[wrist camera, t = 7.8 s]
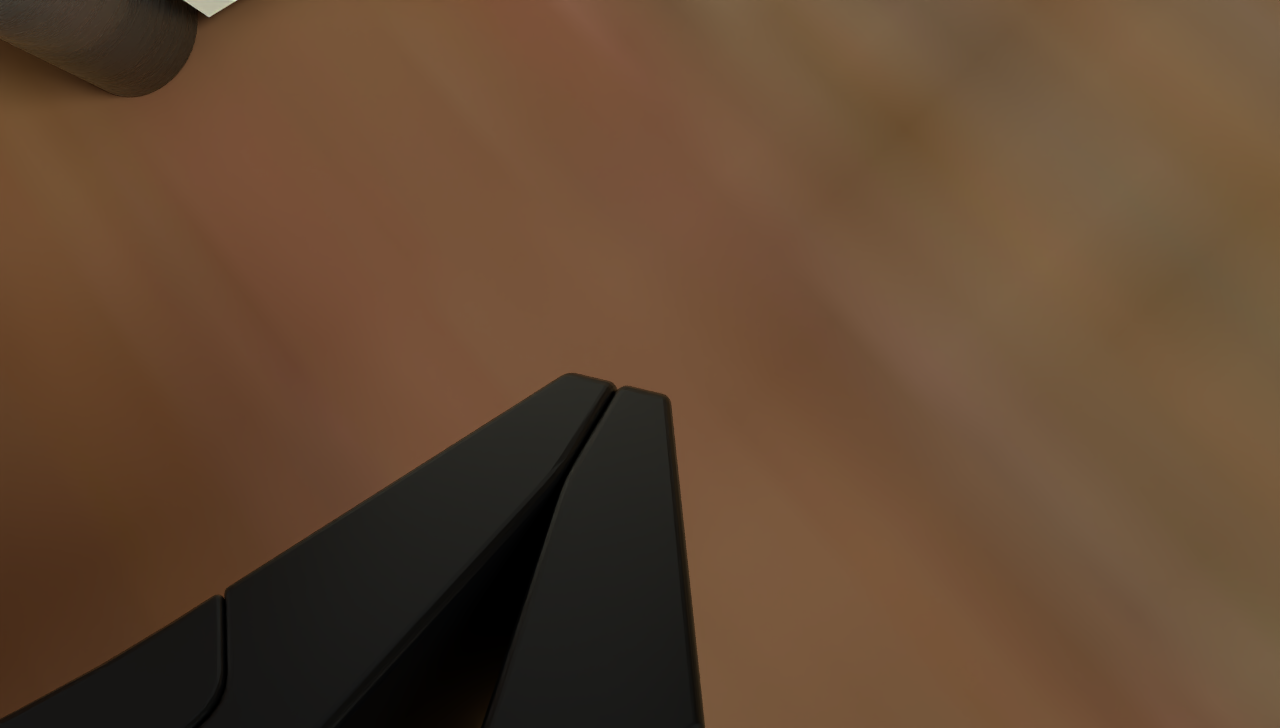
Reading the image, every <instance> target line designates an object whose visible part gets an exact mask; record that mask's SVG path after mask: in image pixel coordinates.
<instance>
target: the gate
mask: <svg viewBox="0 0 1280 728" xmlns="http://www.w3.org/2000/svg"><path fill="white" fill-rule="evenodd" d="M184 1H185V2H187V3H188V4H190V5H191V6H193V7H194V8H196V9H197V10H199V11H200V12H202V13H203V14H205V15H206V16H208V17H210V16H212V15H214V14H215V13H217V12H219V11H220V10H222V9H224V8H225V7H227V6H228V5H230V4H232V3H233V2H235V1H237V0H184Z"/></svg>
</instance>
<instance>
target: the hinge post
mask: <svg viewBox="0 0 1280 728" xmlns="http://www.w3.org/2000/svg"><path fill="white" fill-rule="evenodd" d="M196 31H197V14H196V8H194V7H193V6H191V5H190V4H188V3H187V2H185V1H184V0H0V39H1V40H3V41H5V42H7V43H9V44H11V45H13V46H15V47H17V48H19V49H21V50H23V51H25V52H27V53H30V54H32V55H34V56H36V57H38V58H40V59H42V60H44V61H46V62H48V63H50V64H52V65H54V66H56V67H58V68H60V69H62V70H64V71H66V72H68V73H70V74H72V75H75V76H77V77H79V78H81V79H83V80H85V81H87V82H89V83H91V84H93V85H95V86H97V87H99V88H101V89H103V90H105V91H107V92H109V93H111V94H115V95H118V96H125V97H135V96H141V95H145V94H148V93H151V92H153V91H155V90H157V89H159V88H161V87H162V86H164V85H165V84H167V83H168V82H169V81H170V80H172V79H173V78H174V77H175V76H176V75H177V73H178V72H179V71H180V70H181V68H182V67H183V66H184V64H185V62H186V61H187V59H188V57H189V55H190V53H191V51H192V48H193V45H194V42H195V37H196Z"/></svg>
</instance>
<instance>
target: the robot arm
mask: <svg viewBox="0 0 1280 728" xmlns="http://www.w3.org/2000/svg"><path fill="white" fill-rule="evenodd" d="M0 728H705V723H704V713H703V703H702V694H701V684H700V675H699V665H698V656H697V646H696V637H695V627H694V618H693V608H692V599H691V589H690V580H689V570H688V560H687V551H686V541H685V532H684V522H683V513H682V503H681V494H680V484H679V475H678V465H677V456H676V446H675V437H674V427H673V417H672V408H671V401H670V399H669V398H668V397H667V396H666V395H664V394H661V393H657V392H653V391H648V390H644V389H640V388H636V387H632V386H623V387H621V388H619V389H618V390H617V387H616V386H615V385H614V384H613V383H612V382H610V381H606V380H602V379H598V378H594V377H590V376H585V375H581V374H577V373H568V374H564V375H562V376H560V377H559V378H557V379H556V380H554V381H552V382H551V383H549V384H548V385H546V386H545V387H543V388H541V389H540V390H538V391H537V392H535V393H534V394H532V395H530V396H529V397H527V398H526V399H524V400H522V401H521V402H519V403H518V404H516V405H515V406H513V407H511V408H510V409H508V410H507V411H505V412H504V413H502V414H500V415H499V416H497V417H496V418H494V419H492V420H491V421H489V422H488V423H486V424H485V425H483V426H481V427H480V428H478V429H477V430H475V431H474V432H472V433H470V434H469V435H467V436H466V437H464V438H463V439H461V440H459V441H458V442H456V443H455V444H453V445H451V446H450V447H448V448H447V449H445V450H444V451H442V452H440V453H439V454H437V455H436V456H434V457H433V458H431V459H429V460H428V461H426V462H425V463H423V464H421V465H420V466H418V467H417V468H415V469H414V470H412V471H410V472H409V473H407V474H406V475H404V476H403V477H401V478H399V479H398V480H396V481H395V482H393V483H392V484H390V485H388V486H387V487H385V488H384V489H382V490H380V491H379V492H377V493H376V494H374V495H373V496H371V497H369V498H368V499H366V500H365V501H363V502H362V503H360V504H358V505H357V506H355V507H354V508H352V509H351V510H349V511H347V512H346V513H344V514H343V515H341V516H339V517H338V518H336V519H335V520H333V521H332V522H330V523H328V524H327V525H325V526H324V527H322V528H321V529H319V530H317V531H316V532H314V533H313V534H311V535H309V536H308V537H306V538H305V539H303V540H302V541H300V542H298V543H297V544H295V545H294V546H292V547H291V548H289V549H287V550H286V551H284V552H283V553H281V554H280V555H278V556H276V557H275V558H273V559H272V560H270V561H268V562H267V563H265V564H264V565H262V566H261V567H259V568H257V569H256V570H254V571H253V572H251V573H250V574H248V575H246V576H245V577H243V578H242V579H240V580H238V581H237V582H235V583H234V584H232V585H231V586H229V587H228V588H226V590H225V593H224V598H223V597H222V596H221V595H214V596H213V597H211V598H209V599H208V600H206V601H205V602H203V603H201V604H200V605H198V606H197V607H195V608H194V609H192V610H190V611H189V612H187V613H186V614H184V615H183V616H181V617H179V618H178V619H176V620H175V621H173V622H171V623H170V624H168V625H166V626H165V627H163V628H161V629H160V630H158V631H156V632H155V633H153V634H151V635H150V636H148V637H146V638H145V639H143V640H141V641H140V642H138V643H137V644H135V645H133V646H132V647H130V648H128V649H127V650H125V651H123V652H122V653H120V654H118V655H117V656H115V657H113V658H112V659H110V660H108V661H107V662H105V663H103V664H102V665H100V666H98V667H96V668H94V669H92V670H91V671H89V672H87V673H85V674H83V675H81V676H80V677H78V678H76V679H74V680H72V681H70V682H68V683H67V684H65V685H63V686H61V687H59V688H57V689H56V690H54V691H52V692H50V693H48V694H46V695H45V696H43V697H41V698H39V699H37V700H35V701H33V702H32V703H30V704H28V705H26V706H24V707H22V708H21V709H19V710H17V711H15V712H13V713H11V714H9V715H7V716H5V717H3V718H1V719H0Z"/></svg>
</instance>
